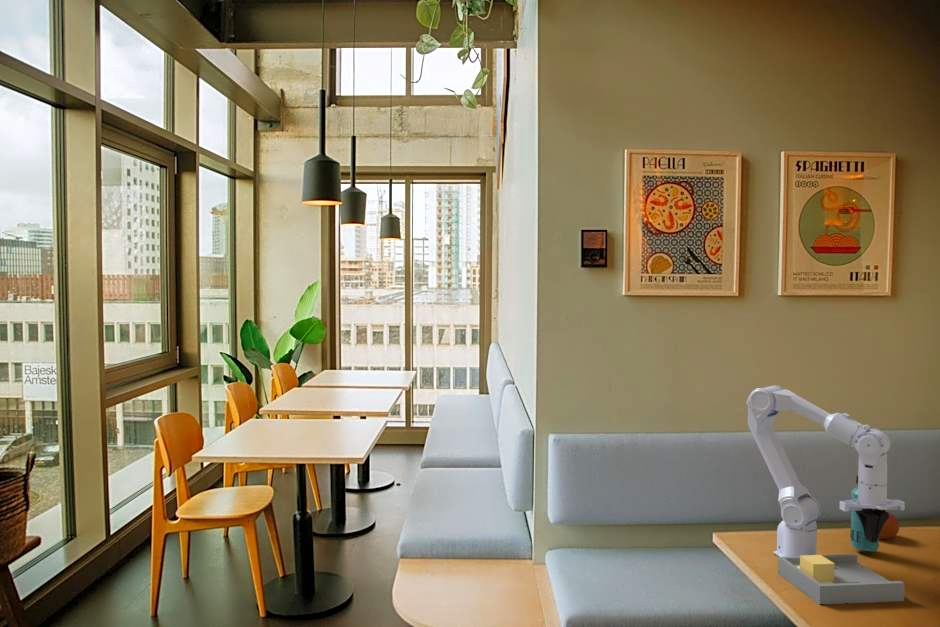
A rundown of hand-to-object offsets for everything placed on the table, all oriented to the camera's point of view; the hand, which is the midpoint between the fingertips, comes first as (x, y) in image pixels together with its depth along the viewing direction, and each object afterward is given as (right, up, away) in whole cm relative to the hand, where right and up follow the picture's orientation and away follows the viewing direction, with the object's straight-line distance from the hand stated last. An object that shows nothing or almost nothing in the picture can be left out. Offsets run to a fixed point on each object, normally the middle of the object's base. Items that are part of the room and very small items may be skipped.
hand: (871, 540), depth 152 cm
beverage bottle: (+9, -9, +18) cm, 22 cm away
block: (-14, -7, -3) cm, 16 cm away
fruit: (+20, -9, +29) cm, 36 cm away
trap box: (-9, -10, -3) cm, 14 cm away
